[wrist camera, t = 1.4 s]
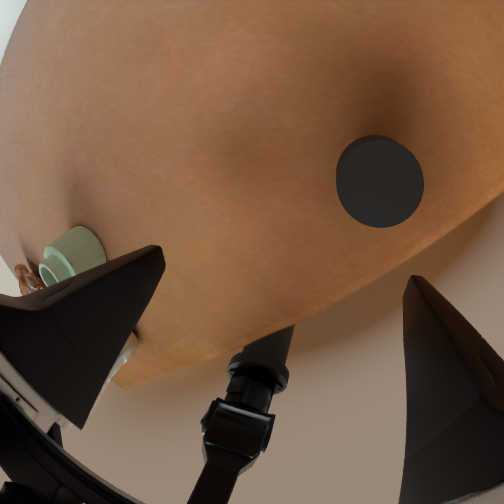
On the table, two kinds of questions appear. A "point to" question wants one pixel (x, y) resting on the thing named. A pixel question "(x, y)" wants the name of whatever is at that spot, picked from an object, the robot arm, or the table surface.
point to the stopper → (379, 181)
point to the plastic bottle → (122, 358)
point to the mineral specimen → (28, 280)
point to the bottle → (71, 255)
